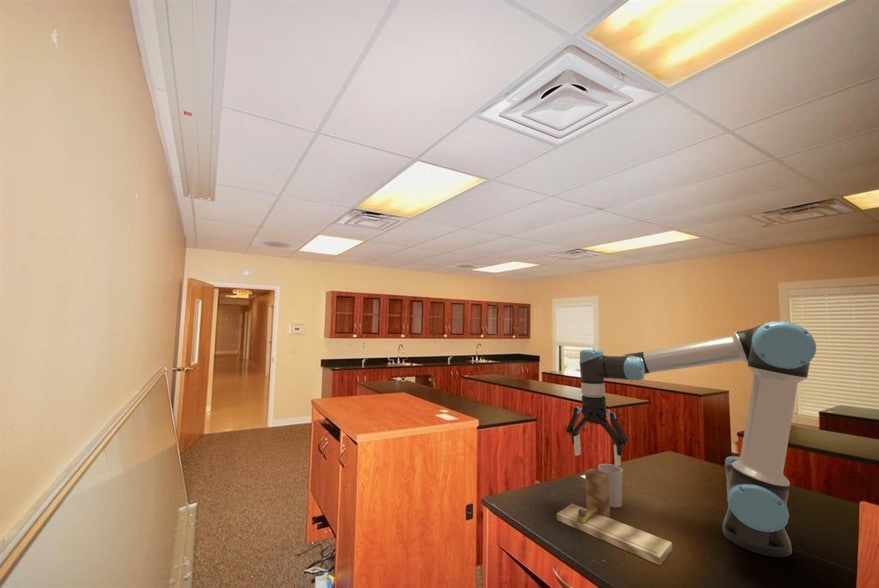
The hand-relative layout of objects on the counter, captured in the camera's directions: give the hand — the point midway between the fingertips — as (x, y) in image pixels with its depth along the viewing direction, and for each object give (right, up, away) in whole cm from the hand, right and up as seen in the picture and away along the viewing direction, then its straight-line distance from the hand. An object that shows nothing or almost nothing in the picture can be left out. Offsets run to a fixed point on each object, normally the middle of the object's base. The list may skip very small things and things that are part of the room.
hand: (597, 459), depth 120 cm
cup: (+9, -19, +8) cm, 22 cm away
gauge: (-4, -18, -5) cm, 19 cm away
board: (-1, -17, -12) cm, 21 cm away
